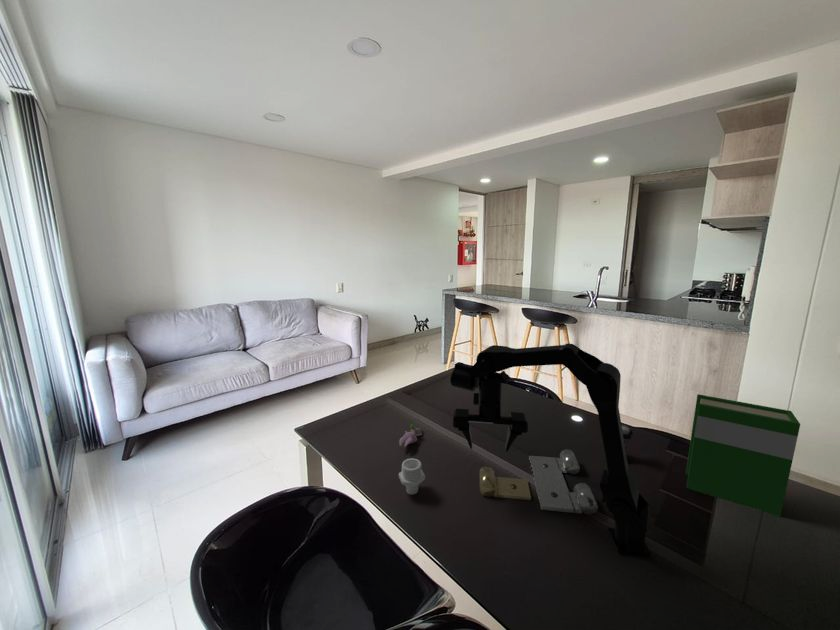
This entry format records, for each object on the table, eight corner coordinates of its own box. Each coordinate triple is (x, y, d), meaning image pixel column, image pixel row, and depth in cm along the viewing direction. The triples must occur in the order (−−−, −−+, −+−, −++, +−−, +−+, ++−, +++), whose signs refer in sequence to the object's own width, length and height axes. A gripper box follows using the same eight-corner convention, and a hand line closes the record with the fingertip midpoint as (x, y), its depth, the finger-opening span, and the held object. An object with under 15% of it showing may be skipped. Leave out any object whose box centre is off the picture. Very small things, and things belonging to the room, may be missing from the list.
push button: (627, 467, 100) (631, 436, 98) (607, 461, 104) (610, 430, 102) (630, 456, 106) (633, 426, 104) (610, 450, 109) (613, 421, 107)
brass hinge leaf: (530, 500, 89) (531, 487, 88) (479, 496, 91) (479, 482, 90) (527, 482, 95) (527, 469, 95) (479, 478, 97) (479, 465, 97)
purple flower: (409, 433, 124) (393, 449, 110) (410, 416, 124) (393, 431, 110) (426, 435, 122) (411, 453, 108) (426, 419, 122) (412, 434, 108)
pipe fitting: (418, 479, 97) (417, 453, 96) (428, 495, 91) (427, 468, 89) (397, 485, 95) (396, 459, 94) (405, 502, 89) (404, 475, 87)
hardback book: (686, 488, 92) (699, 404, 87) (685, 473, 98) (697, 394, 93) (780, 516, 82) (800, 424, 77) (772, 498, 87) (791, 411, 83)
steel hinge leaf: (597, 515, 83) (598, 500, 82) (541, 509, 85) (541, 495, 85) (573, 461, 104) (574, 449, 103) (528, 458, 106) (529, 446, 105)
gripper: (523, 384, 95) (521, 435, 98) (455, 380, 98) (455, 430, 101) (529, 402, 84) (526, 459, 87) (452, 397, 87) (452, 453, 90)
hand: (488, 449), depth 92 cm, fingers open, 9 cm apart
